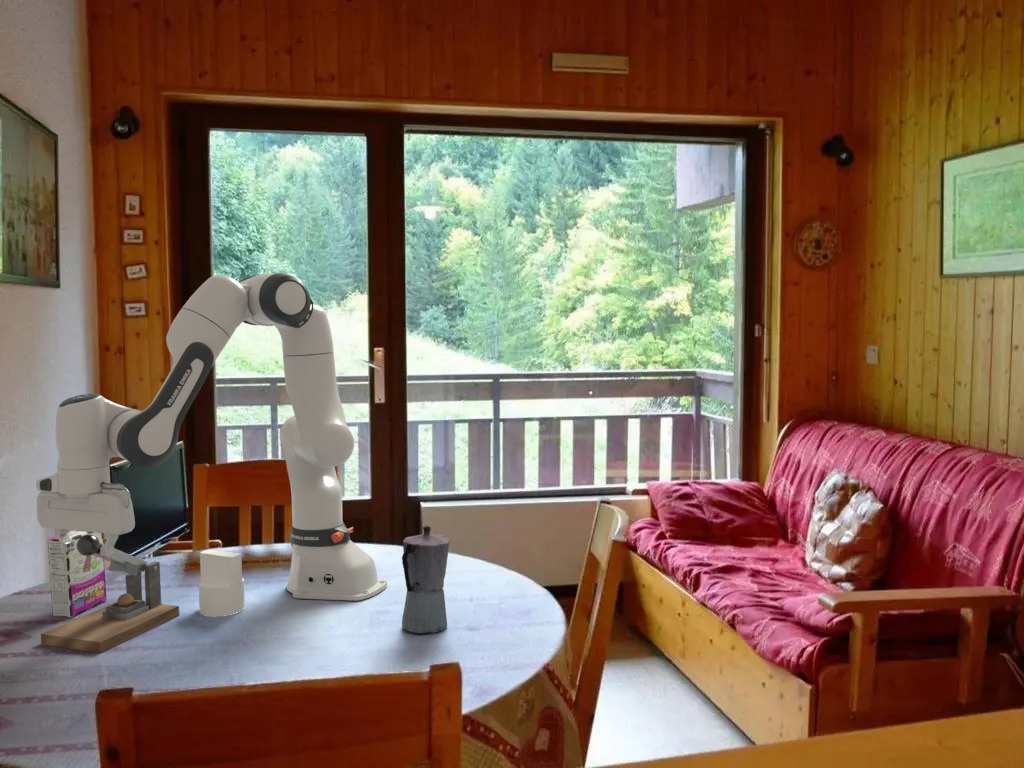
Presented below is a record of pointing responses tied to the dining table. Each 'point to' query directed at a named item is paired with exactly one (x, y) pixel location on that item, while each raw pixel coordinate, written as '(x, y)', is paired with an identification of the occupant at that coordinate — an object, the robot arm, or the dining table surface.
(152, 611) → the nutcracker bench
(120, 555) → the lever
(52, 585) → the candy bar box
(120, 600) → the nut
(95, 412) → the robot arm
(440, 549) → the moka pot
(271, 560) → the dining table surface
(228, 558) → the white stepped block
